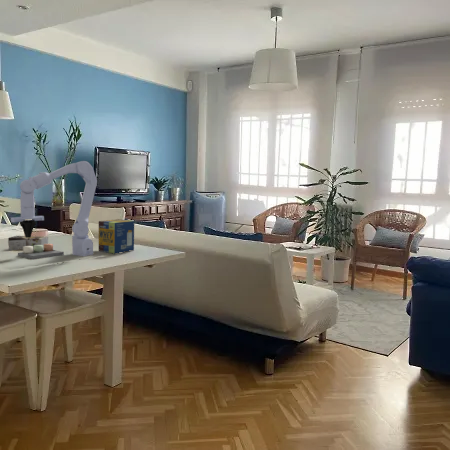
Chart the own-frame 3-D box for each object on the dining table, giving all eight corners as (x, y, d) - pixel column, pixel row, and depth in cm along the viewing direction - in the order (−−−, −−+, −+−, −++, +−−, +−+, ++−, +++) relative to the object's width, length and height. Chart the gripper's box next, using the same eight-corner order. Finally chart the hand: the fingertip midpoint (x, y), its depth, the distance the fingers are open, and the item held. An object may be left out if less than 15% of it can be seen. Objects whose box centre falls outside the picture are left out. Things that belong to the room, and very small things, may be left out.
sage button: (45, 251, 207) (45, 245, 207) (37, 253, 204) (36, 246, 203) (40, 250, 209) (39, 244, 209) (32, 251, 206) (31, 245, 206)
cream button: (35, 253, 203) (34, 246, 203) (26, 254, 200) (26, 247, 199) (29, 252, 205) (29, 245, 205) (21, 253, 202) (21, 246, 202)
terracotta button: (54, 250, 211) (54, 244, 211) (47, 251, 208) (47, 245, 207) (49, 249, 213) (49, 243, 213) (42, 250, 210) (41, 244, 210)
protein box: (98, 252, 224) (97, 221, 223) (118, 248, 238) (119, 218, 236) (114, 254, 219) (114, 222, 218) (134, 250, 233) (134, 220, 231)
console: (63, 257, 208) (63, 251, 208) (33, 261, 196) (33, 255, 196) (48, 253, 215) (48, 248, 215) (18, 257, 203) (17, 252, 203)
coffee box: (41, 238, 220) (7, 237, 220) (41, 251, 221) (8, 250, 221) (48, 236, 229) (16, 235, 229) (48, 248, 230) (16, 247, 230)
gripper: (37, 205, 209) (37, 235, 210) (6, 206, 197) (7, 237, 198) (46, 206, 204) (46, 236, 206) (15, 208, 193) (16, 239, 194)
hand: (28, 237), depth 202 cm, fingers closed
